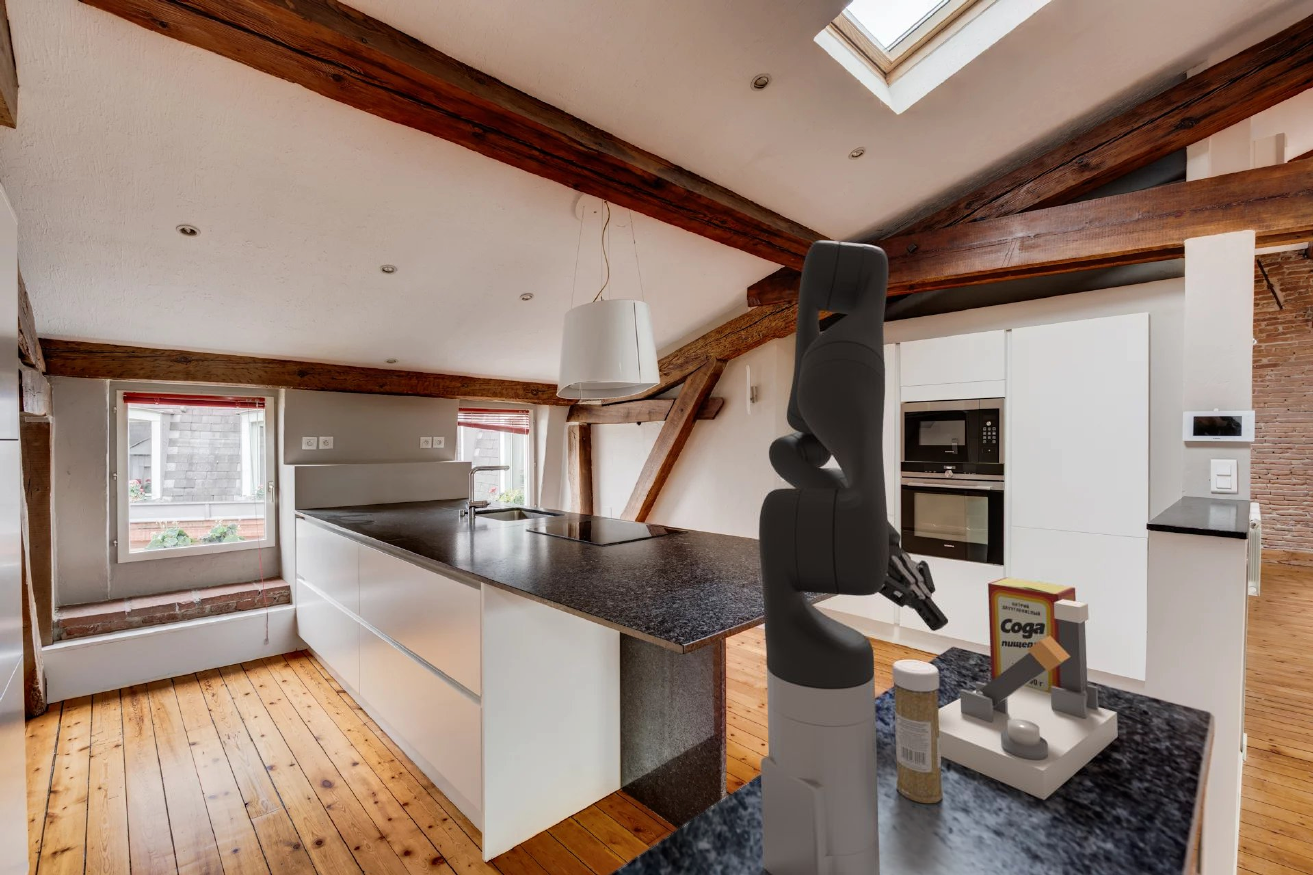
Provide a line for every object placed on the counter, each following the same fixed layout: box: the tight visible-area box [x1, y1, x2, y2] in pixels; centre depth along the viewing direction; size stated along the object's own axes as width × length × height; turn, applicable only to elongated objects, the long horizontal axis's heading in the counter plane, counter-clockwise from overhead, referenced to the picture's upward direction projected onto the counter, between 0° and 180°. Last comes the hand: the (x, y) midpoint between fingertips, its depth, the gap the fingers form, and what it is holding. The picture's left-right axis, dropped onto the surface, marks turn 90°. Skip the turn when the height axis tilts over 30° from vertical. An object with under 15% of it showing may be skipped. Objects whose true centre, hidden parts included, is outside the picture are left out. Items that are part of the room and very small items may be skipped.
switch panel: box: [938, 681, 1119, 801], centre depth 72 cm, size 22×14×6 cm, turn 125°
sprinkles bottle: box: [891, 659, 944, 804], centre depth 61 cm, size 5×5×13 cm
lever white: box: [1054, 599, 1090, 702], centre depth 74 cm, size 3×3×13 cm
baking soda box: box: [987, 577, 1077, 693], centre depth 87 cm, size 10×6×16 cm
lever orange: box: [976, 636, 1071, 707], centre depth 70 cm, size 3×3×13 cm
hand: (941, 626), depth 78 cm, fingers closed
